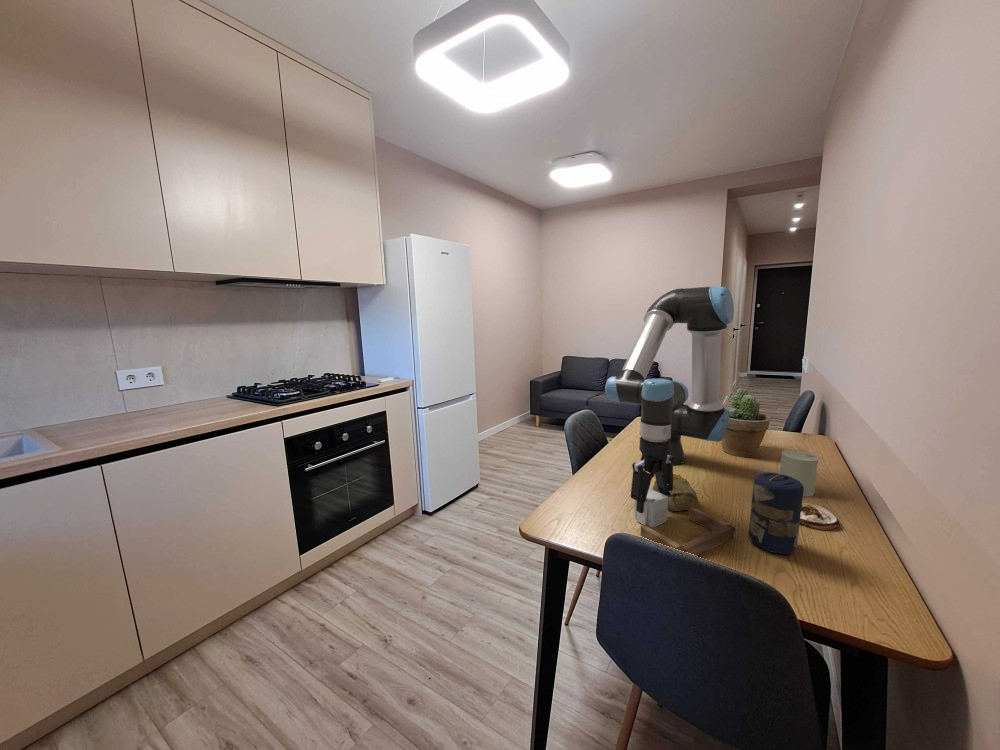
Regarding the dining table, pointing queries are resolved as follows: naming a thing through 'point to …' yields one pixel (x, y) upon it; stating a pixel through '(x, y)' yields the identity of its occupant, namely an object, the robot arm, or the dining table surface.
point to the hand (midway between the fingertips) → (650, 519)
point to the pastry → (680, 494)
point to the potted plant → (744, 426)
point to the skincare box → (655, 508)
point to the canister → (775, 512)
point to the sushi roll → (817, 517)
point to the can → (800, 468)
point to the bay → (702, 544)
